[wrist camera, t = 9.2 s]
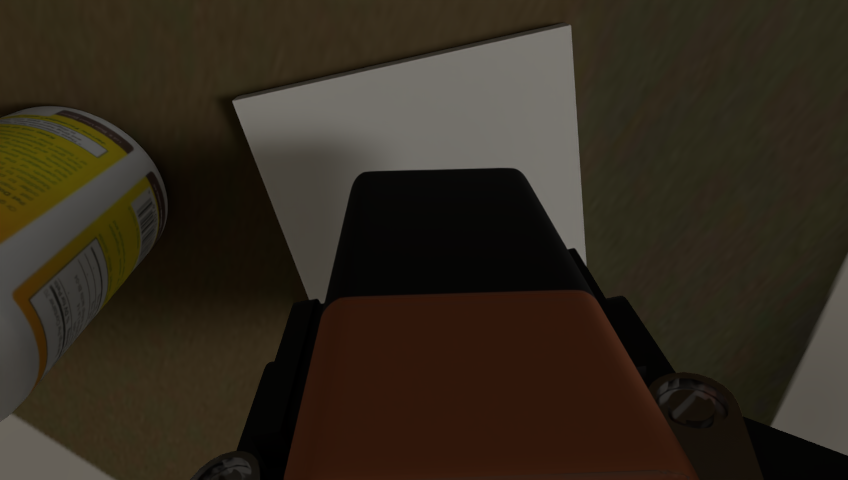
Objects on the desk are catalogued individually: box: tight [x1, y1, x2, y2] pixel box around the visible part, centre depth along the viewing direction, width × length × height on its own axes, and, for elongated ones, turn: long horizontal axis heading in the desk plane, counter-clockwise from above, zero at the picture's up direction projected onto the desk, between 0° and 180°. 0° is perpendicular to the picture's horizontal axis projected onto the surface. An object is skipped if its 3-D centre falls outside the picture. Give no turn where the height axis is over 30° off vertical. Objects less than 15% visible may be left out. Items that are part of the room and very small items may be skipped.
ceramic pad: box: [232, 23, 586, 304], centre depth 17 cm, size 10×10×1 cm
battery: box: [283, 168, 699, 480], centre depth 10 cm, size 4×7×10 cm, turn 1°
